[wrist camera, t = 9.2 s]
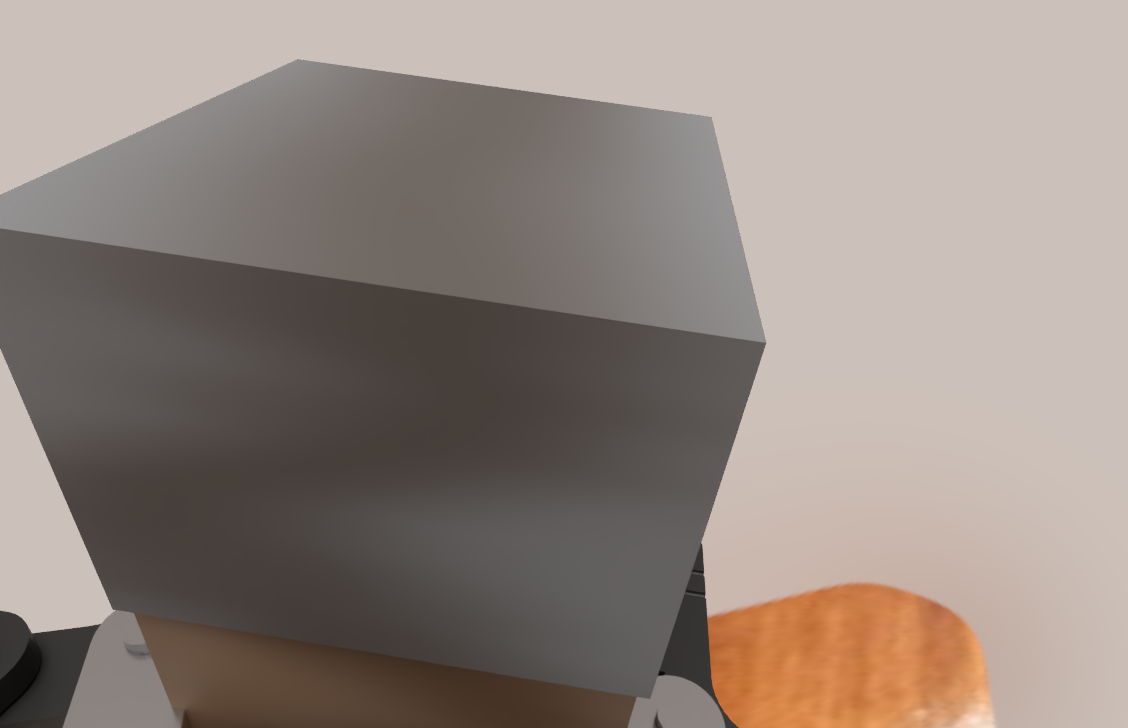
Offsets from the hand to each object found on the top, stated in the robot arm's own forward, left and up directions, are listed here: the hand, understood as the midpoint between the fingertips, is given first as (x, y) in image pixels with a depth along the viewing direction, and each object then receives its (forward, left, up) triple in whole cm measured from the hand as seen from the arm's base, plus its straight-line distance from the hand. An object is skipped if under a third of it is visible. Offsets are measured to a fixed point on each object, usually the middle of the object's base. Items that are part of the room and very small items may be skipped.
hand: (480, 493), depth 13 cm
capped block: (-1, -3, -10) cm, 10 cm away
